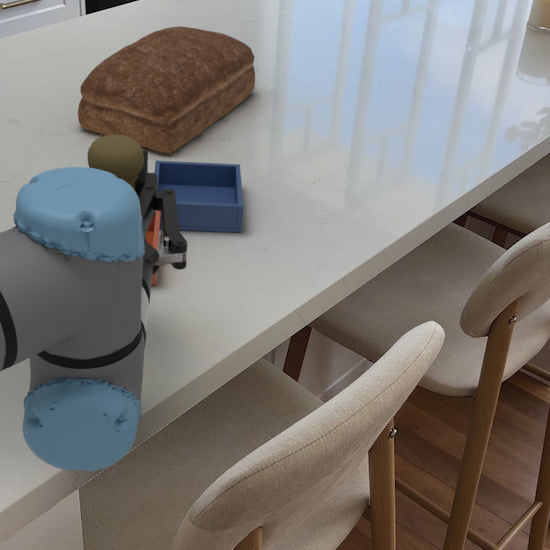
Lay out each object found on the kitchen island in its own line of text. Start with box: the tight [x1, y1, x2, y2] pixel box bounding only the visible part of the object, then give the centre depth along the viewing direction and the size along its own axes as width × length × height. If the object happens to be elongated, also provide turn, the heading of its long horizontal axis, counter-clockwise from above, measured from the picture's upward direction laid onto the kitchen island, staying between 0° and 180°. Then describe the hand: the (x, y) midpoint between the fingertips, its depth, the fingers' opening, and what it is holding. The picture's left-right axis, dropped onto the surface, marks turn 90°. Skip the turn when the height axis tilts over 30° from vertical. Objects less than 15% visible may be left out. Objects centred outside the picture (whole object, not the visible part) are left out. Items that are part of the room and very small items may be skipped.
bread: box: [77, 25, 256, 155], centre depth 136 cm, size 17×29×12 cm, turn 155°
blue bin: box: [153, 160, 244, 233], centre depth 114 cm, size 11×11×4 cm
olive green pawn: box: [86, 135, 147, 242], centre depth 85 cm, size 6×6×11 cm
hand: (124, 162), depth 89 cm, fingers closed on olive green pawn, 3 cm apart
